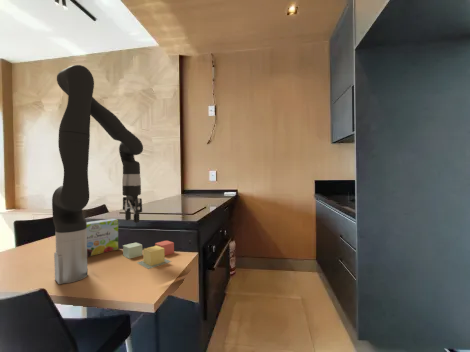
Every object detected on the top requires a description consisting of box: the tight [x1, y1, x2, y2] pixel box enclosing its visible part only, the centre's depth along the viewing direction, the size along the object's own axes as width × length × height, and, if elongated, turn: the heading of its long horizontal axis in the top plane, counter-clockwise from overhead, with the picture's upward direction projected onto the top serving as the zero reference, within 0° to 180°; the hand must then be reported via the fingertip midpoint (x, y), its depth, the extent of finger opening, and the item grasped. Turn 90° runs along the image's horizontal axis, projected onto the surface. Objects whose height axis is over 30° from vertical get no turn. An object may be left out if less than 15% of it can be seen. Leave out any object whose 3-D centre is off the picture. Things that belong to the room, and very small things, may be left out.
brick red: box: [154, 240, 175, 256], centre depth 110 cm, size 6×6×6 cm
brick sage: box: [122, 242, 143, 260], centre depth 107 cm, size 6×6×6 cm
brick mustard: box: [142, 245, 166, 266], centre depth 98 cm, size 6×6×6 cm
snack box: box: [86, 218, 119, 258], centre depth 112 cm, size 21×6×15 cm, turn 143°
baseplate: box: [136, 258, 172, 270], centre depth 98 cm, size 10×10×1 cm
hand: (132, 221), depth 107 cm, fingers open, 8 cm apart
